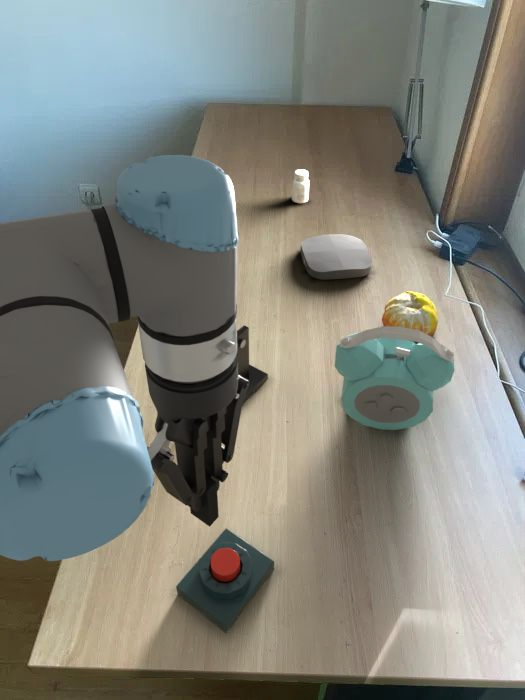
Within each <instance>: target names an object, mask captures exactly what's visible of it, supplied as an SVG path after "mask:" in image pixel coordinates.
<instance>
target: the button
mask: <svg viewBox="0 0 525 700" xmlns="http://www.w3.org/2000/svg"><path fill="white" fill-rule="evenodd" d="M211 572H212V574H213V576H214V577H215V579H217V580H218V581H221V582H229V581H232V580H234V579H235V578H236V577H237V576H238V574H239V572H240V558H239V556H238V554H237V553H236V552H235V551H234V550H232V549H230V548H222V549H219V550H217V551H216V552H215V553H214V554H213V556H212V558H211Z"/></svg>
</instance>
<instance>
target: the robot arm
mask: <svg viewBox="0 0 525 700" xmlns="http://www.w3.org/2000/svg"><path fill="white" fill-rule="evenodd" d="M237 215H238V214H237V204H236V196H235V189H234V185H233V182H232V179H231V178H230V176H229V175H228V174H227V173H226V172H225V171H224V170H223V169H222V168H221V167H220V166H218V165H217V164H215V163H213V162H211V161H209V160H207V159H204V158H201V157H197V156H192V155H184V154H165V155H157V156H156V155H155V156H152V157H148V158H146V159H145V160H144V162H135V163H132V164H130V165H128V167H127V168H125V169H124V170H123V171H122V172H121V173H120V175H119V177H118V179H117V182H116V195H115V197H114V203H112V204H105V205H101V207H97V208H92V209H84V210H78V211H77V210H76V211H70V212H65V213H64V212H63V213H56V214H49V215H43V216H36V217H29V218H24V219H17V220H10V221H2V222H0V556H2V557H4V558H6V559H9V560H14V561H18V562H21V561H28V560H30V559H33V558H35V557H41V558H42V559H43V560H44V561H46V562H55V561H56V562H59V561H64V560H68V559H72V558H75V557H78V556H81V555H85V554H87V553H91V552H92V551H95V550H96V549H99V548H100V547H103V546H104V545H107V544H108V543H110V542H112V541H113V540H115V539H117V538H118V537H119V536H120V535H122V534H123V533H125V531H127V530H128V529H129V528H130V527H131V526H132V525H133V524H134V523H135V522H136V521H137V520H138V518H139V517H140V516H141V514H142V513H143V511H144V510H145V508H146V507H147V504H148V502H149V500H150V497H151V493H152V489H153V487H154V485H155V479H154V478H155V477H154V474H155V476H156V478H157V479H158V481H159V482H160V484H161V485H162V487H163V488H164V489H165V492H166V493H167V494H169V496H171V497H173V498H175V499H176V500H177V501H179V502H180V503H181V504H183V505H185V506H188V507H189V510H190V511H189V512H190V514H191V515H193V516H194V517H195V518H196V519H198V520H200V521H201V522H202V523H204V524H205V525H206V526H207V527H209V528H210V527H211V526H212V525H213V524H214V523H215V521H217V519H218V518H219V517H220V516H219V499H218V491H219V490H220V483H224V482H226V480H227V478H228V476H229V472H228V471H226V470H225V469H223V465H224V463H225V464H228V463H230V462H231V461H232V460H233V458H234V454H235V449H236V448H235V447H236V442H237V437H238V433H239V432H238V431H239V426H240V420H241V415H242V410H243V409H242V408H243V404H244V402H243V400H244V397H245V395H246V392H247V389H248V387H249V383H250V382H249V381H248V380H246V379H245V378H243V377H241V376H239V375H238V356H237V330H238V324H237V323H238V322H237V319H238V318H237V315H238V304H237V299H238V296H237V295H238V294H237V293H238V245H239V243H240V233H239V231H238V216H237ZM131 318H136V319H137V326H138V333H139V339H140V345H141V354H142V359H143V361H144V369H145V374H146V382H147V387H148V388H147V389H148V393H149V397H150V399H151V401H152V404H153V405H154V407H155V409H156V412H157V414H156V418H155V422H154V429H155V432H156V435H155V436H154V439H153V440H152V442H151V443H150V444H149V445H147V442H146V438H145V435H144V430H143V429H144V418H143V417H144V416H143V415H142V413H141V411H140V410H141V409H140V405H139V402H138V401H137V399H135V397H134V395H133V392H132V389H131V386H130V383H129V381H128V378H127V375H126V373H125V370H124V367H123V364H122V361H121V358H120V355H119V353H118V350H117V348H116V342H115V339H114V336H113V333H112V329H111V327H110V325H111V324H115V323H121V322H126V321H129V320H130V319H131ZM171 442H172V443H174V448H175V455H174V454H173V453H171V451H172V449H171V448H170V444H171ZM175 457H176V458H175ZM175 459H176V462H174V460H175Z"/></svg>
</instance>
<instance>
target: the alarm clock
mask: <svg viewBox="0 0 525 700" xmlns="http://www.w3.org/2000/svg"><path fill="white" fill-rule="evenodd" d="M408 340H409V341H408ZM412 341H415V342H419V343H414V342H412ZM454 356H455V353H454V351H453V349H450V348H448V347H446V346H445V345H443V344H441V343H440V342H439V341H438V340H436V339H435V338H434V337H433V336H429V335H427V334H425V333H423V332H421V331H419V330H414V329H409V328H404V327H389V326H384V325H382V326H378V327H373V328H369V329H365V330H363V331H360V332H355V333H352V334H349V335H345V336H344V337H343V338H341V340H340V342H339V343H338V344H337V345H336V347H335V357H334V368H335V369H336V371H337V372H338V374H339V375H341V376H342V377H343V380H342V391H341V404H342V409H343V410H344V412H345V413H346V415H347V416H349V418H350V419H352V420H354V421H356V422H357V423H359V424H361V425H362V426H366V427H370V428H373V429H378V430H387V431H399V430H403V429H404V430H405V429H409V428H413V427H415V426H417V425H419V424H421V423H423V422H425V421H426V420H427V419H428V418H429V417H430V416H431V414H432V413H433V411H434V392H435V391H437V390H439V389H441V388H444V387H445V386H446V385H447V384H449V383H450V382H451V381H452V380H453V379H452V378H453V376H454V373H455V357H454Z"/></svg>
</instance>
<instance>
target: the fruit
mask: <svg viewBox="0 0 525 700" xmlns="http://www.w3.org/2000/svg"><path fill="white" fill-rule="evenodd" d="M381 322H382V324H383V325H382V326H389V327H404V328H409V329H414V330H419V331H421V332H423V333H425V334H427V335H429V336H431V337H433V336H434V335H435V333H436V331H437V328H438V324H439V316H438V311H437V308H436V306H435V304H434V302H433V301H432V300H431V299H430V298H429V297H427V295H425V294H424V293H419V292H415V291H405V292H402V293H399V295H397V296H394V297H392V298H391V299H389V301H388V302H386V304H385V305H384V312H383V314H382V317H381ZM408 341H409V340H408ZM412 342H414V343H415V344H419V342H415V341H412Z"/></svg>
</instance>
